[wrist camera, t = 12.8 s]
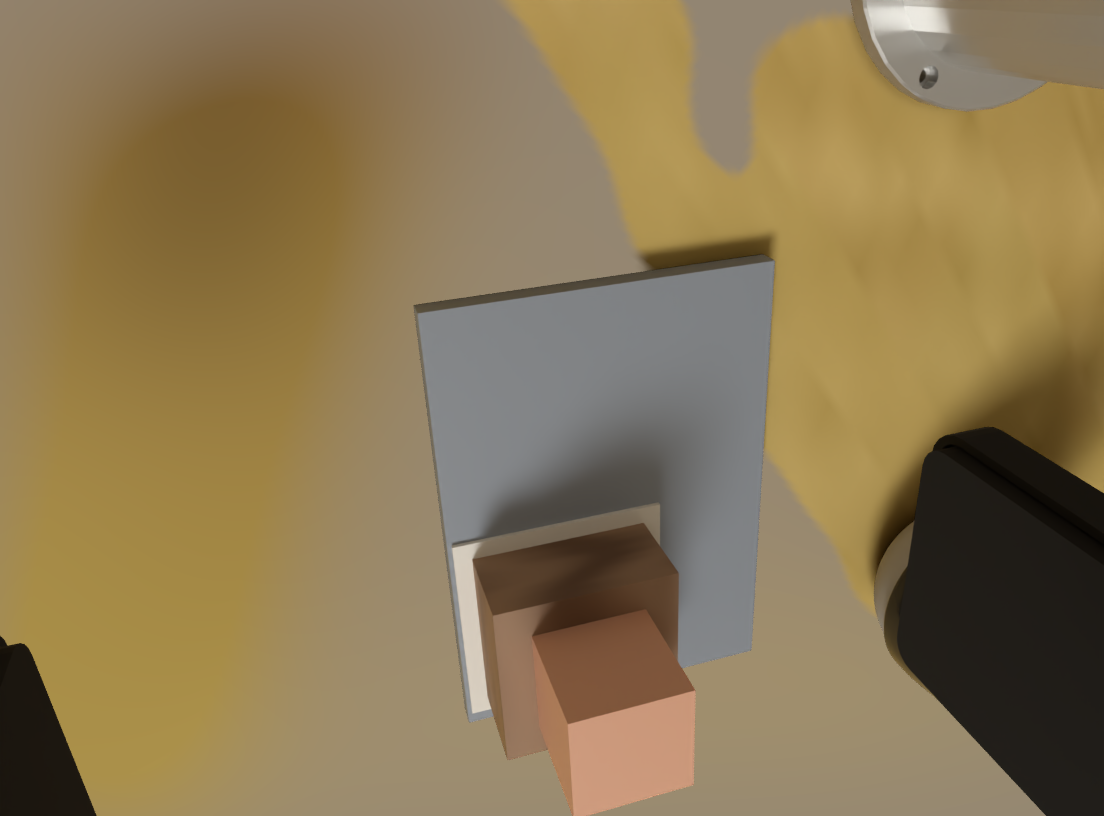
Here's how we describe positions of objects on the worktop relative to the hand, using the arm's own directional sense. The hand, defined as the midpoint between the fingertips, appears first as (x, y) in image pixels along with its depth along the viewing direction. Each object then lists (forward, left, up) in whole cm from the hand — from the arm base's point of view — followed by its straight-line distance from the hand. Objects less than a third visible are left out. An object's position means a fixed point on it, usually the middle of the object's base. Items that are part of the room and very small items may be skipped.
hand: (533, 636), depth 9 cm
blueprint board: (-10, +16, -26) cm, 32 cm away
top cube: (-7, +21, -21) cm, 31 cm away
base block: (-7, +21, -25) cm, 33 cm away
